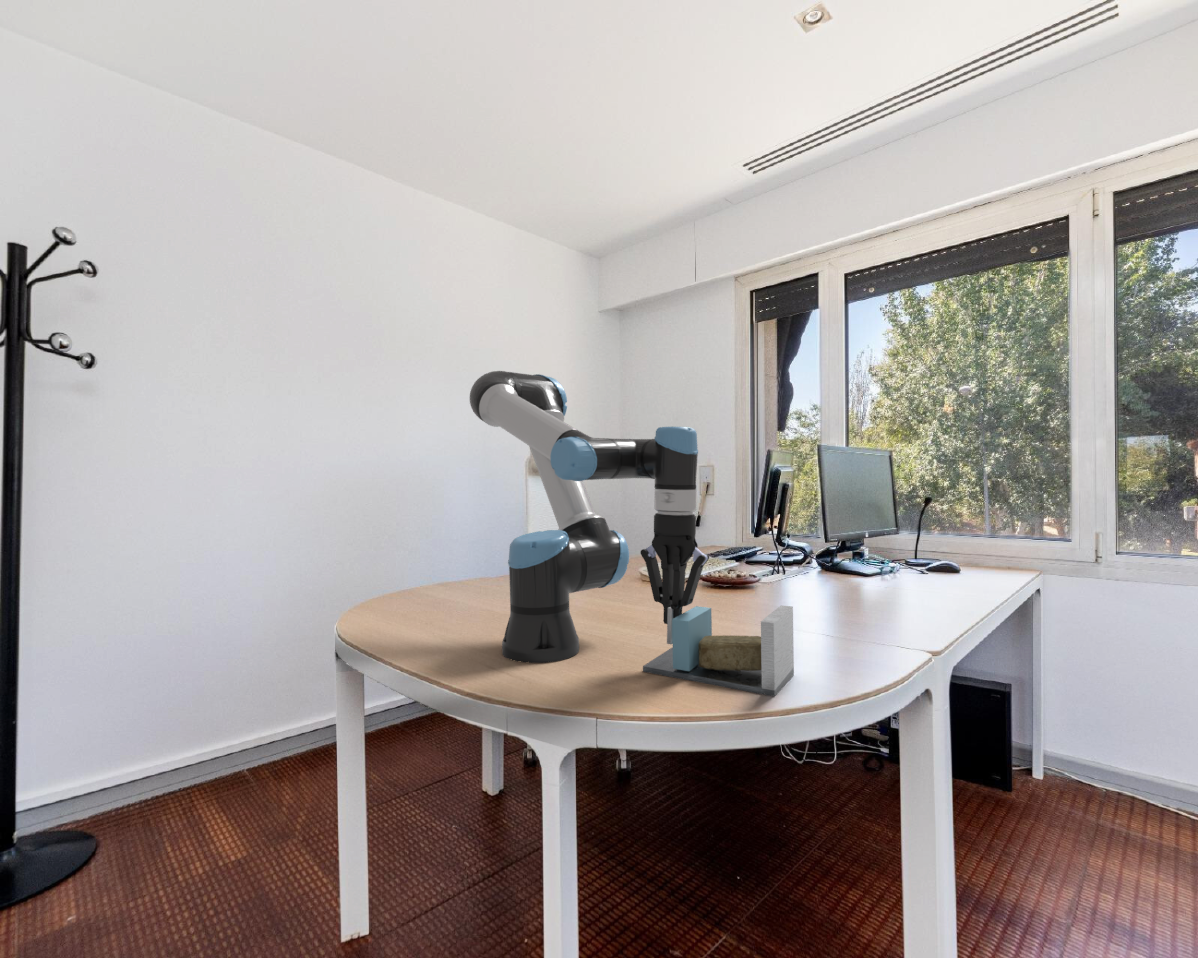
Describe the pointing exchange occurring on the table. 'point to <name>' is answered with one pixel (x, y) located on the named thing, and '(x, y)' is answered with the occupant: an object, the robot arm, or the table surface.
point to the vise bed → (766, 681)
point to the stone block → (730, 653)
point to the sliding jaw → (690, 636)
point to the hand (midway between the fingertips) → (672, 642)
